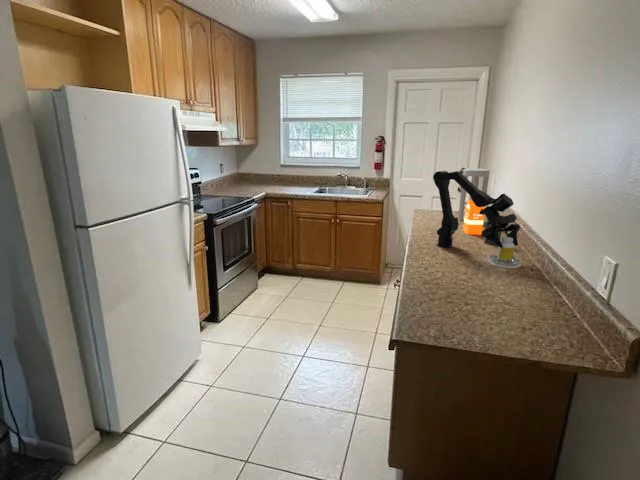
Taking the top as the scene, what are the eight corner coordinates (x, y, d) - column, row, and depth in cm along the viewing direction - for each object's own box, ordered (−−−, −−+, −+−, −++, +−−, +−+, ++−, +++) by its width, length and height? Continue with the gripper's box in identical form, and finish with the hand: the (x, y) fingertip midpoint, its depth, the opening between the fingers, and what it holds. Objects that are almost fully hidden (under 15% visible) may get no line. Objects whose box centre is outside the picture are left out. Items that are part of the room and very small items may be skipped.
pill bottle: (513, 265, 176) (517, 240, 172) (498, 263, 177) (501, 239, 174) (509, 260, 182) (513, 236, 179) (494, 259, 183) (498, 235, 180)
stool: (453, 219, 269) (459, 168, 259) (472, 218, 273) (478, 168, 264) (467, 224, 254) (474, 170, 245) (487, 223, 259) (494, 170, 250)
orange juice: (481, 234, 230) (486, 201, 224) (466, 234, 230) (470, 200, 225) (477, 231, 237) (481, 198, 232) (462, 231, 238) (466, 198, 232)
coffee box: (483, 243, 212) (486, 219, 209) (483, 241, 215) (486, 218, 211) (499, 245, 209) (503, 221, 205) (499, 243, 212) (503, 220, 208)
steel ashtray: (485, 264, 177) (486, 258, 176) (491, 256, 188) (492, 250, 188) (518, 270, 170) (519, 263, 169) (522, 262, 181) (523, 255, 181)
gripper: (489, 209, 173) (506, 239, 166) (520, 206, 179) (537, 235, 173) (474, 222, 182) (489, 251, 175) (504, 219, 189) (519, 247, 182)
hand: (509, 246), depth 176 cm, fingers open, 9 cm apart
